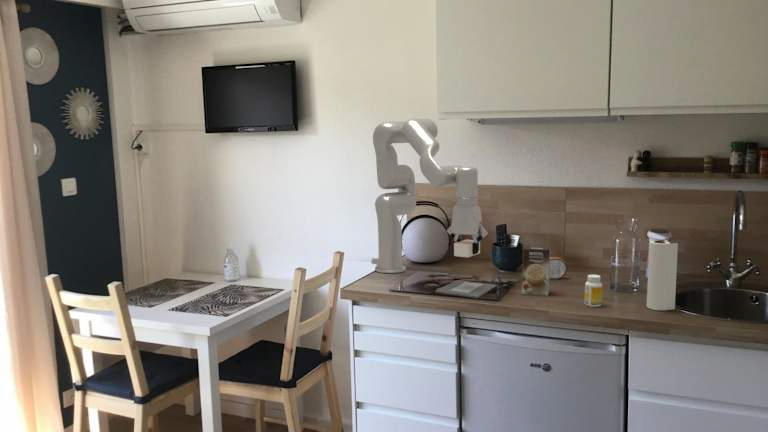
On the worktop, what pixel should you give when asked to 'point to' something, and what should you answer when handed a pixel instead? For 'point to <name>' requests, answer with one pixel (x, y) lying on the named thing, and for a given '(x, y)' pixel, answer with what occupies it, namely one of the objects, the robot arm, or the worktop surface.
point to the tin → (557, 268)
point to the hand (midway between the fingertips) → (467, 252)
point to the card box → (464, 248)
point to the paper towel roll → (662, 275)
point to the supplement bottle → (593, 291)
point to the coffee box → (536, 270)
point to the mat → (466, 288)
